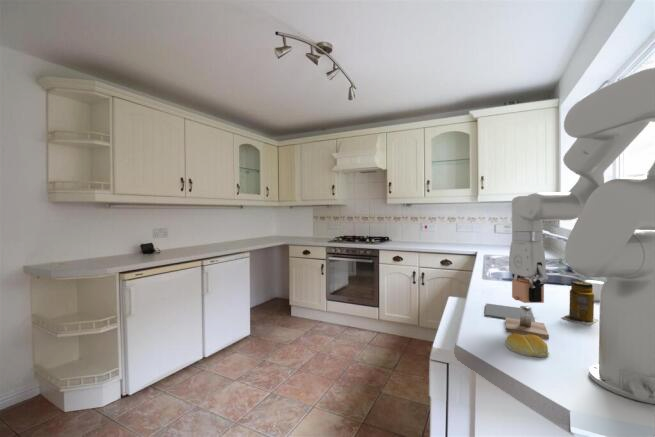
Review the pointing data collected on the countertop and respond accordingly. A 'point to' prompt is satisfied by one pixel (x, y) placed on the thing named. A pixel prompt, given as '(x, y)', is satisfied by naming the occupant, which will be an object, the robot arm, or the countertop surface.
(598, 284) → the shot glass
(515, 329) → the post base
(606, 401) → the countertop surface
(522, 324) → the post
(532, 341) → the bread roll
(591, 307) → the condiment
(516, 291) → the peach rounded block
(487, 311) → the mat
